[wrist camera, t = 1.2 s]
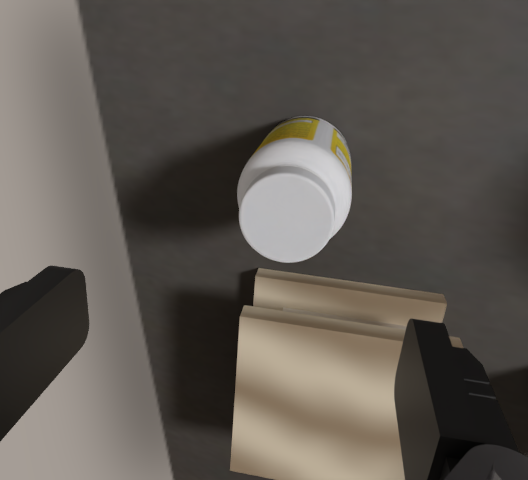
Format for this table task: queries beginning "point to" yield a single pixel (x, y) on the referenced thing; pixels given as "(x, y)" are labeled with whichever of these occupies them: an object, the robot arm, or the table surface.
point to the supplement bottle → (295, 190)
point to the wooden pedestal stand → (322, 377)
